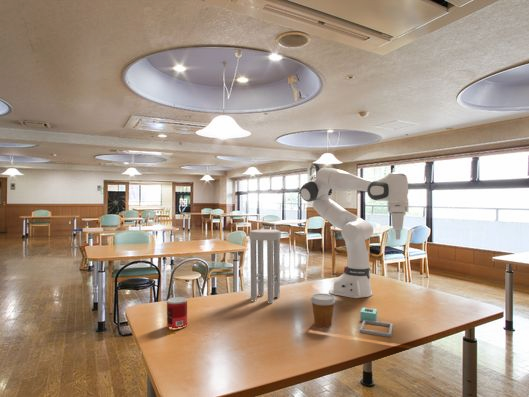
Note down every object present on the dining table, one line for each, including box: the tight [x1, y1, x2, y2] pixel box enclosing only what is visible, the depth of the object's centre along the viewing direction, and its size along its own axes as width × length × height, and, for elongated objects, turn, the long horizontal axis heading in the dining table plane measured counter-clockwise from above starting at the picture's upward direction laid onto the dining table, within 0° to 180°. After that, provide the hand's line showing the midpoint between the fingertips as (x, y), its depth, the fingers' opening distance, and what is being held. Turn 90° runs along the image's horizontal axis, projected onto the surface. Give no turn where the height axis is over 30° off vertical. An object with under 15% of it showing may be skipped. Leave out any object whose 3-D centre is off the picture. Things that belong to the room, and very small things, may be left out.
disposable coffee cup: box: [310, 293, 336, 328], centre depth 132 cm, size 10×10×12 cm
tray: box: [359, 320, 394, 338], centre depth 127 cm, size 11×11×2 cm
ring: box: [359, 306, 378, 322], centre depth 137 cm, size 6×6×4 cm
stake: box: [358, 307, 379, 322], centre depth 137 cm, size 7×7×5 cm
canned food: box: [166, 296, 188, 328], centre depth 133 cm, size 8×8×11 cm
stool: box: [249, 228, 282, 304], centre depth 169 cm, size 16×16×35 cm
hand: (398, 238), depth 151 cm, fingers open, 8 cm apart
